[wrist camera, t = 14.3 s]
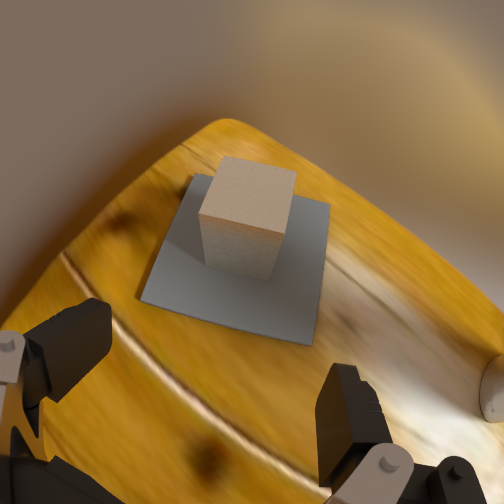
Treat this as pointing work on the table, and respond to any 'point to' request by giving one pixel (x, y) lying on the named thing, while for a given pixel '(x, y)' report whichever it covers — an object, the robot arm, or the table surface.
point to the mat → (241, 287)
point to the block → (246, 217)
